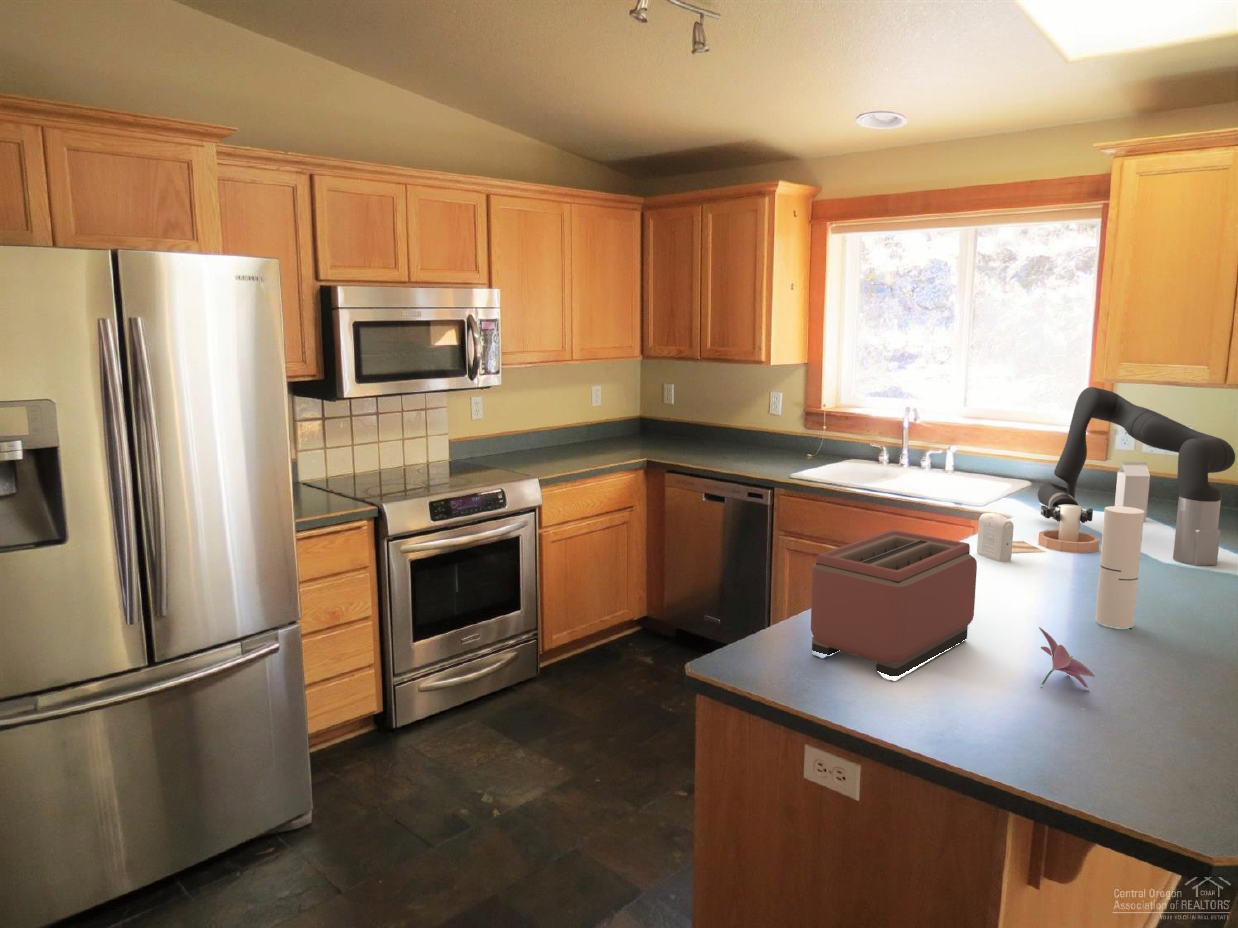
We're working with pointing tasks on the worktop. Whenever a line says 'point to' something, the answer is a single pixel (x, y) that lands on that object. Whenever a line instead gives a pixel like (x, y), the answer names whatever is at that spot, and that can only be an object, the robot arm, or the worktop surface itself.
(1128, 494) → the milk carton
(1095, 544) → the bowl
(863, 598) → the toaster
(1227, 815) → the worktop surface
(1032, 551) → the cork mat
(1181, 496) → the robot arm
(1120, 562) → the cylindrical container
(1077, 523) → the pillar candle
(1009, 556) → the photo printer
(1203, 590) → the worktop surface
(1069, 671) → the lily
